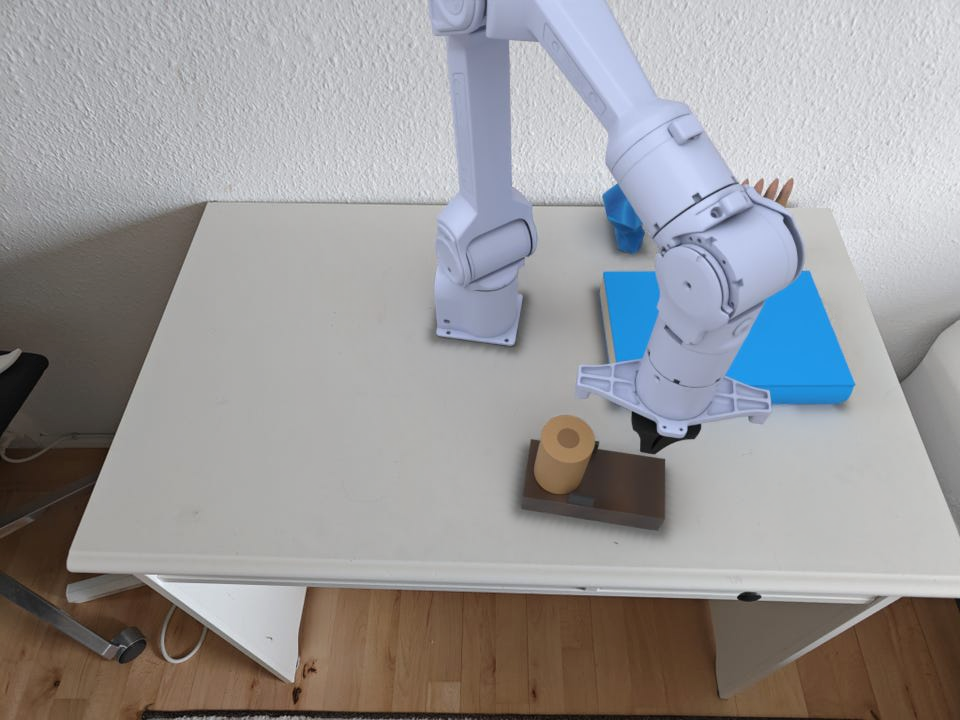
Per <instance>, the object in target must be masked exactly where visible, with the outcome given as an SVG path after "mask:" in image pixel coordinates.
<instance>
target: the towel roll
mask: <svg viewBox="0 0 960 720" xmlns="http://www.w3.org/2000/svg"><path fill="white" fill-rule="evenodd" d="M595 437H596V436H595V434H594V431H593V429H592V427H591V426H590V425H589V424H588V423H587V422H586V421H585V420H583V419H582V418H579V417H578V416H574V415H571V414H562V415H557V416H555V417H552V418H551V419H549V420H548V421H547V422H546V423H545V424H544V426H543V428H542V430H541V435H540V439H539V440H540V443H539V447H538V452H537V456H536V461H535V465H534V475H535V478H536V480H537V482H538V483H539V485H540V486H541V487H542V488H544V489H545V490H547V491H548V492H551V493H554V494H566V493H569V492H572V491H573V490H575V489H576V488H577V487H578V486H579V484H580V483H581V480H582V478H583V475H584V473H585V470H586V467H587V465H588V462H589V460H590V457H591V454H592V452H593V449H594V446H595V441H596V438H595Z"/></svg>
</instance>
